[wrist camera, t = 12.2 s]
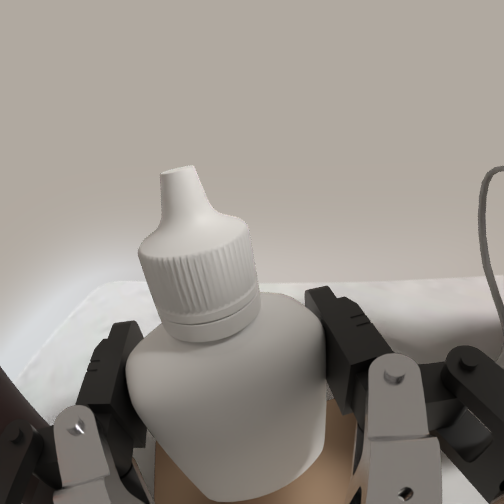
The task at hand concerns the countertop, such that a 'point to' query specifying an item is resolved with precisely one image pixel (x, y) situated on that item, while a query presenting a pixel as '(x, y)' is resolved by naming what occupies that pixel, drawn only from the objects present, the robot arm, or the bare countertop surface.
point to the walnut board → (290, 496)
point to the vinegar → (17, 407)
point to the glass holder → (501, 309)
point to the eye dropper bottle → (224, 355)
